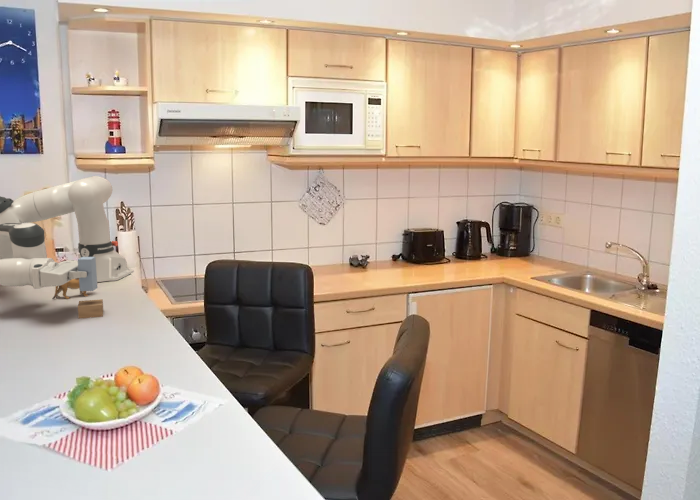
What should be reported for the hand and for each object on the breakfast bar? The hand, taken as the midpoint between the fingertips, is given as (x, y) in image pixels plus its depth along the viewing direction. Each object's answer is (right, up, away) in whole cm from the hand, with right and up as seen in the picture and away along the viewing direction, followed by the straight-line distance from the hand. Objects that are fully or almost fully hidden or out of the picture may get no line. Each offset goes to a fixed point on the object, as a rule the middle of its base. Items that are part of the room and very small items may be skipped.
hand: (90, 272), depth 204 cm
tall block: (-1, -5, +1) cm, 6 cm away
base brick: (-1, -14, +3) cm, 14 cm away
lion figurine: (-15, -9, +24) cm, 30 cm away
